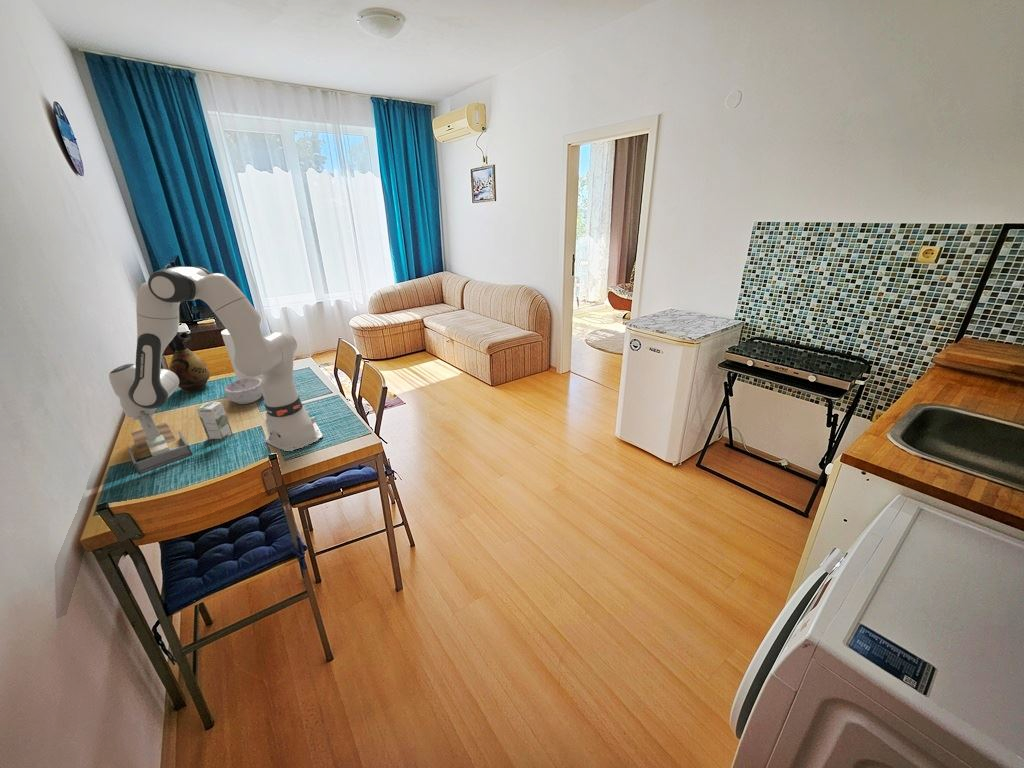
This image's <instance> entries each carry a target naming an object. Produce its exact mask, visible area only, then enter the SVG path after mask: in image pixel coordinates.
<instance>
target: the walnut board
mask: <svg viewBox="0 0 1024 768" xmlns="http://www.w3.org/2000/svg"><path fill="white" fill-rule="evenodd" d="M156 427H157V429H158V431H159V433H160V435H163V437H164V439H165V441H166V443H167V444H168V443H171V442H173V441H176V440H177V439H176V437H175V435H174V434H173V432H172V431H171V429H170V427H169V425H168V423H167V422H163V423H162V422H161V423H159V424H156ZM130 434H131V436H132V439H133V441H134V444H135V447H136V448H137V451H138V453H141V452H144V451H147V450H150V449H149V447H148V444H147V442H146V440H148V439H147V437H146V435H145V433H144V431H143V429H139V430H137V431H132V432H131V433H130Z"/></svg>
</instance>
